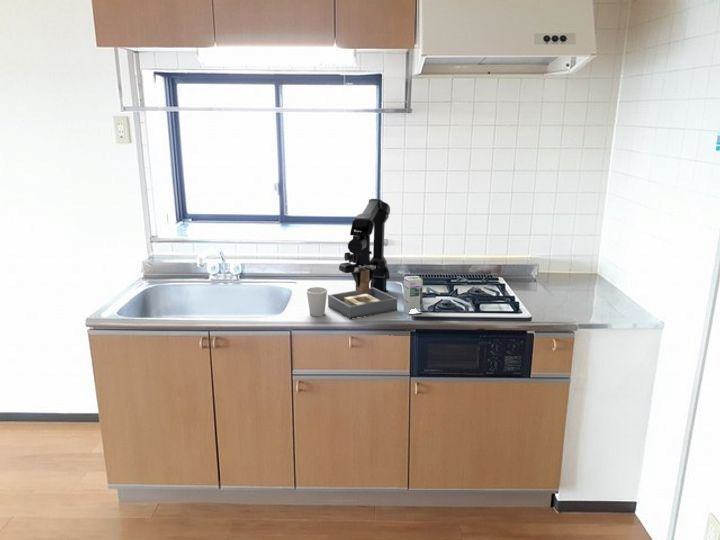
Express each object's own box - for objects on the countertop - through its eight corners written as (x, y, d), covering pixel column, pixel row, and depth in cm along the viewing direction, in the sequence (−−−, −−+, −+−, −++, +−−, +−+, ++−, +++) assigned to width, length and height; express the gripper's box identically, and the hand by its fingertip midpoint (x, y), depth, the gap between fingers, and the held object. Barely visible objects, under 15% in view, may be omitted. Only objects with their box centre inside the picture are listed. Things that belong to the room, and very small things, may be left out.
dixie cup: (309, 310, 217) (309, 286, 214) (329, 311, 215) (329, 287, 213) (304, 317, 209) (303, 292, 206) (325, 318, 207) (325, 293, 205)
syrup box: (408, 315, 211) (409, 280, 208) (403, 310, 217) (404, 276, 213) (421, 314, 213) (423, 278, 209) (416, 309, 218) (417, 275, 215)
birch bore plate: (366, 300, 226) (366, 293, 225) (380, 307, 217) (381, 300, 216) (343, 304, 221) (343, 297, 220) (357, 312, 211) (357, 305, 211)
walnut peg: (364, 288, 220) (364, 267, 218) (369, 291, 217) (369, 269, 214) (355, 290, 218) (355, 268, 216) (360, 292, 215) (360, 271, 212)
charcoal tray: (373, 298, 232) (373, 287, 231) (396, 310, 217) (397, 298, 216) (328, 306, 221) (328, 295, 220) (349, 319, 206) (349, 307, 205)
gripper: (371, 242, 224) (371, 278, 228) (332, 247, 215) (332, 284, 219) (386, 247, 215) (385, 284, 219) (346, 252, 205) (346, 291, 210)
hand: (362, 286), depth 217 cm, fingers closed on walnut peg, 4 cm apart
